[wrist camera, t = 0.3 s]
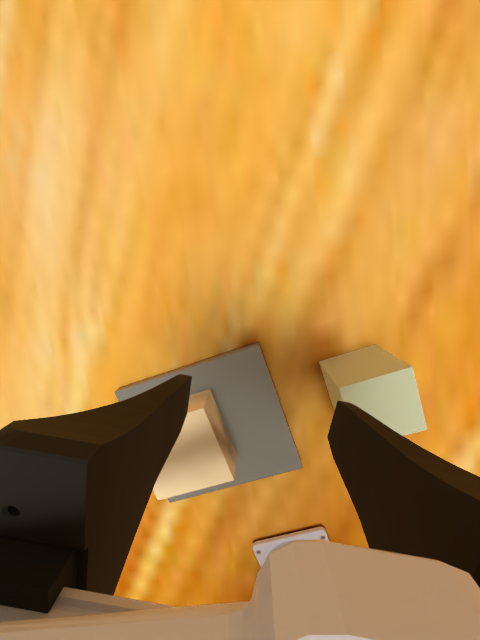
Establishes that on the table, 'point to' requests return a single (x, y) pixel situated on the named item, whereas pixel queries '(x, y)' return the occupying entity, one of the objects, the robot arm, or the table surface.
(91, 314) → the table surface
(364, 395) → the sage block
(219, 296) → the table surface
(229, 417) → the gray board
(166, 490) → the birch plinth
